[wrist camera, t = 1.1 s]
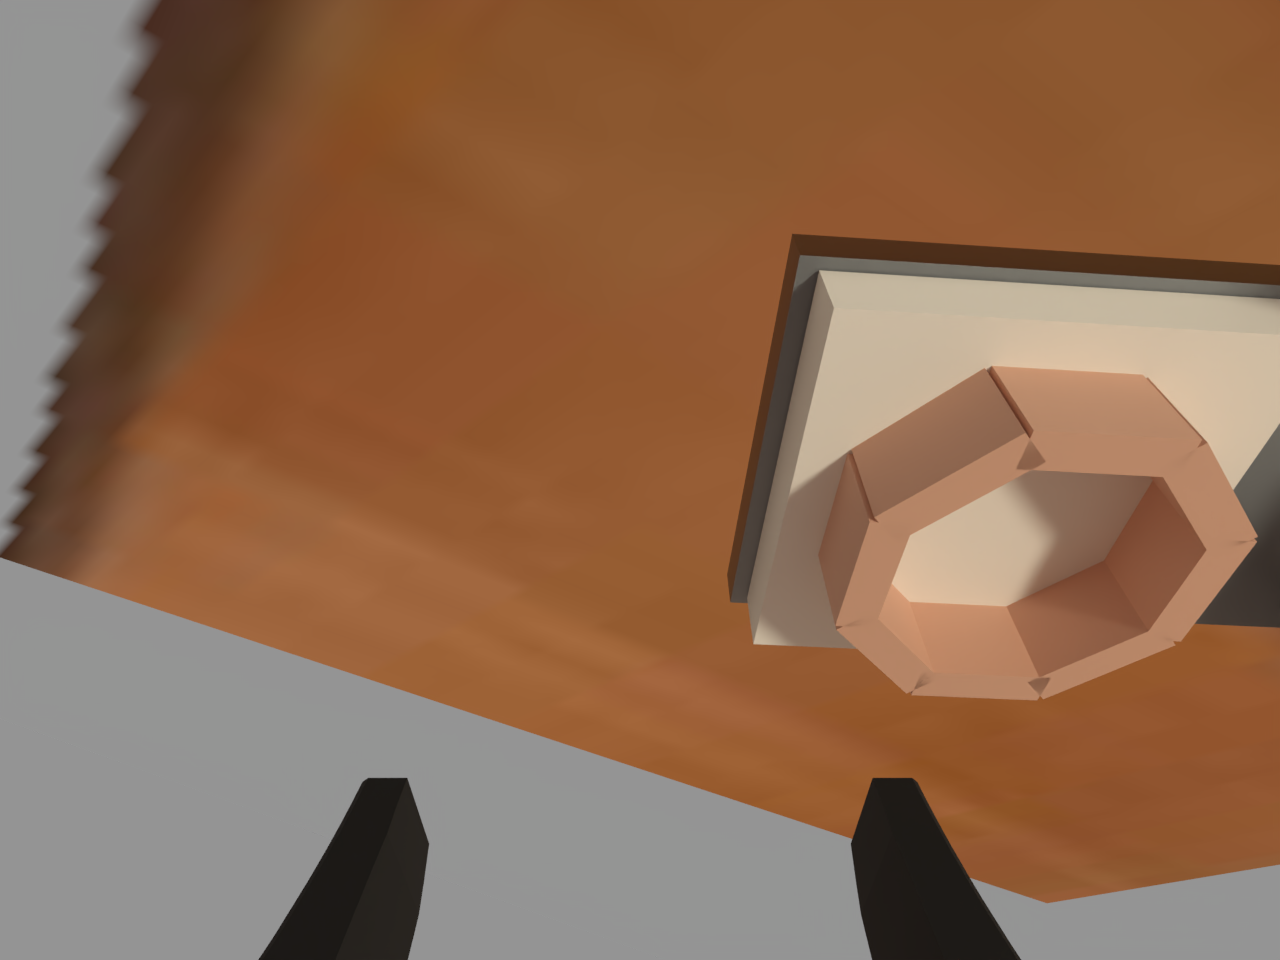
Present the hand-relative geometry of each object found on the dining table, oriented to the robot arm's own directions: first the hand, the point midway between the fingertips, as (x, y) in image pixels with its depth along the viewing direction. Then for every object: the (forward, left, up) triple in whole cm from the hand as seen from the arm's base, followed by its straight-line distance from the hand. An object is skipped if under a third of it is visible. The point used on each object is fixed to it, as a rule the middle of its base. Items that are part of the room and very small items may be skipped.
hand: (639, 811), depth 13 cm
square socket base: (-1, +7, -8) cm, 11 cm away
